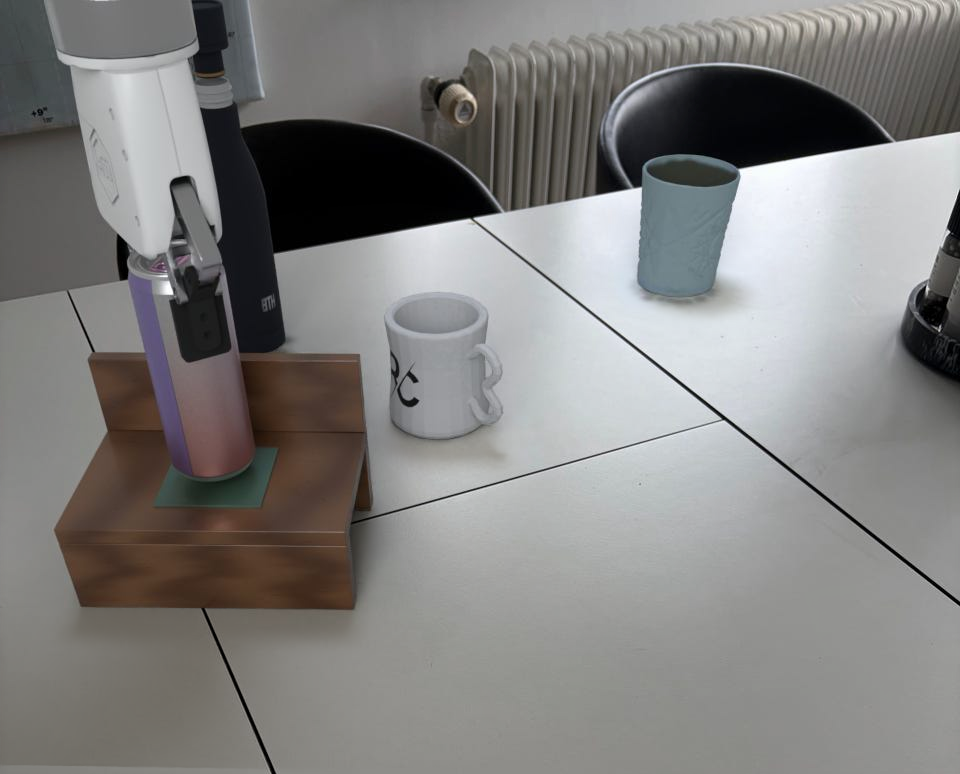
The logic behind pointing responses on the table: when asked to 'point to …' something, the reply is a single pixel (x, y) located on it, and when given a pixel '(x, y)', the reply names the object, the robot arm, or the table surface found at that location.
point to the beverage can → (192, 381)
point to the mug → (441, 365)
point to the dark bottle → (236, 194)
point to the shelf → (224, 495)
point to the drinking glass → (684, 222)
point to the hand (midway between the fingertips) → (187, 332)
